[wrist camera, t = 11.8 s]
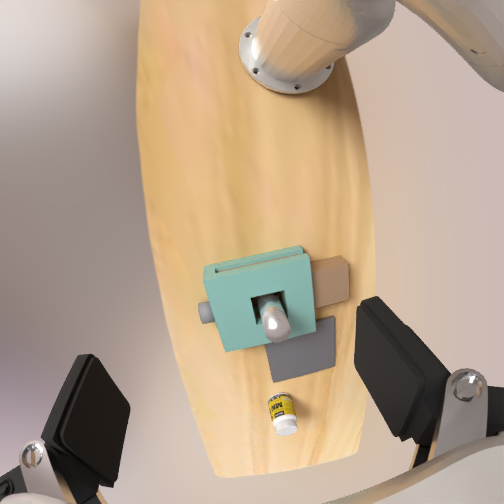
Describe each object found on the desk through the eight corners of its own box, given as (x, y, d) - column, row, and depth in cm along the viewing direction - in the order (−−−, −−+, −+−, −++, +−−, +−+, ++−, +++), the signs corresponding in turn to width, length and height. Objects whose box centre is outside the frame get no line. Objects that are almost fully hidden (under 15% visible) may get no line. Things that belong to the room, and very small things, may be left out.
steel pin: (266, 278, 40) (281, 317, 30) (279, 291, 41) (296, 332, 31) (250, 291, 40) (260, 333, 31) (263, 303, 41) (276, 346, 32)
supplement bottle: (277, 389, 49) (286, 422, 41) (295, 395, 50) (305, 426, 42) (262, 402, 50) (269, 434, 42) (280, 407, 51) (288, 438, 44)
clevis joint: (338, 236, 39) (352, 247, 34) (341, 305, 43) (352, 320, 39) (190, 269, 38) (187, 284, 34) (212, 335, 42) (212, 354, 38)
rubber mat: (333, 315, 44) (334, 317, 43) (333, 364, 48) (334, 366, 48) (262, 333, 43) (263, 335, 43) (272, 380, 48) (273, 382, 47)
